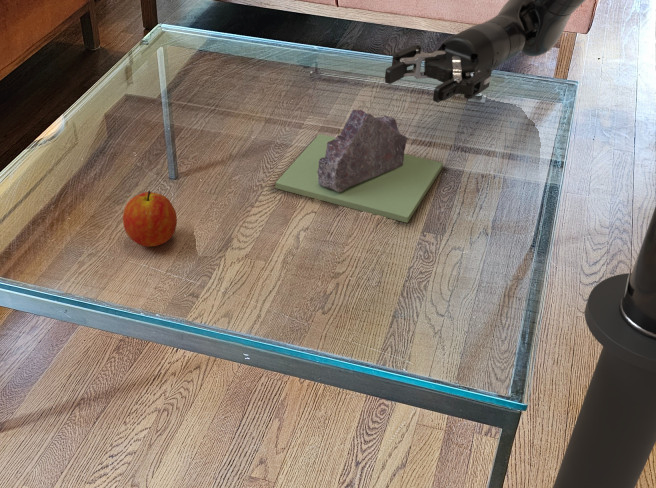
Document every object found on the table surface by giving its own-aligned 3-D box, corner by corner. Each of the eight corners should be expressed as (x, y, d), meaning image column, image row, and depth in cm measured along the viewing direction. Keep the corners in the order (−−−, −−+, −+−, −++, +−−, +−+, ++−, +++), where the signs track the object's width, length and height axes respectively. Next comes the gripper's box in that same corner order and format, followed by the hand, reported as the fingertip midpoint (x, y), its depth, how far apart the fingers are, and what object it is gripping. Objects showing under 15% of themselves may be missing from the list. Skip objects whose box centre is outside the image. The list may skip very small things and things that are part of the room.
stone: (390, 85, 121) (313, 113, 114) (421, 102, 118) (344, 133, 111) (379, 148, 128) (306, 178, 121) (408, 166, 125) (335, 199, 117)
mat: (442, 168, 125) (443, 162, 125) (407, 223, 114) (408, 217, 114) (319, 139, 132) (319, 133, 132) (275, 188, 121) (275, 182, 121)
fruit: (115, 243, 111) (107, 192, 106) (152, 220, 115) (147, 170, 110) (151, 264, 108) (146, 212, 102) (189, 239, 112) (185, 188, 106)
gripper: (439, 16, 130) (374, 47, 122) (520, 42, 123) (456, 76, 114) (432, 62, 135) (369, 95, 126) (510, 90, 127) (449, 126, 119)
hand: (411, 86), depth 120 cm, fingers open, 8 cm apart
